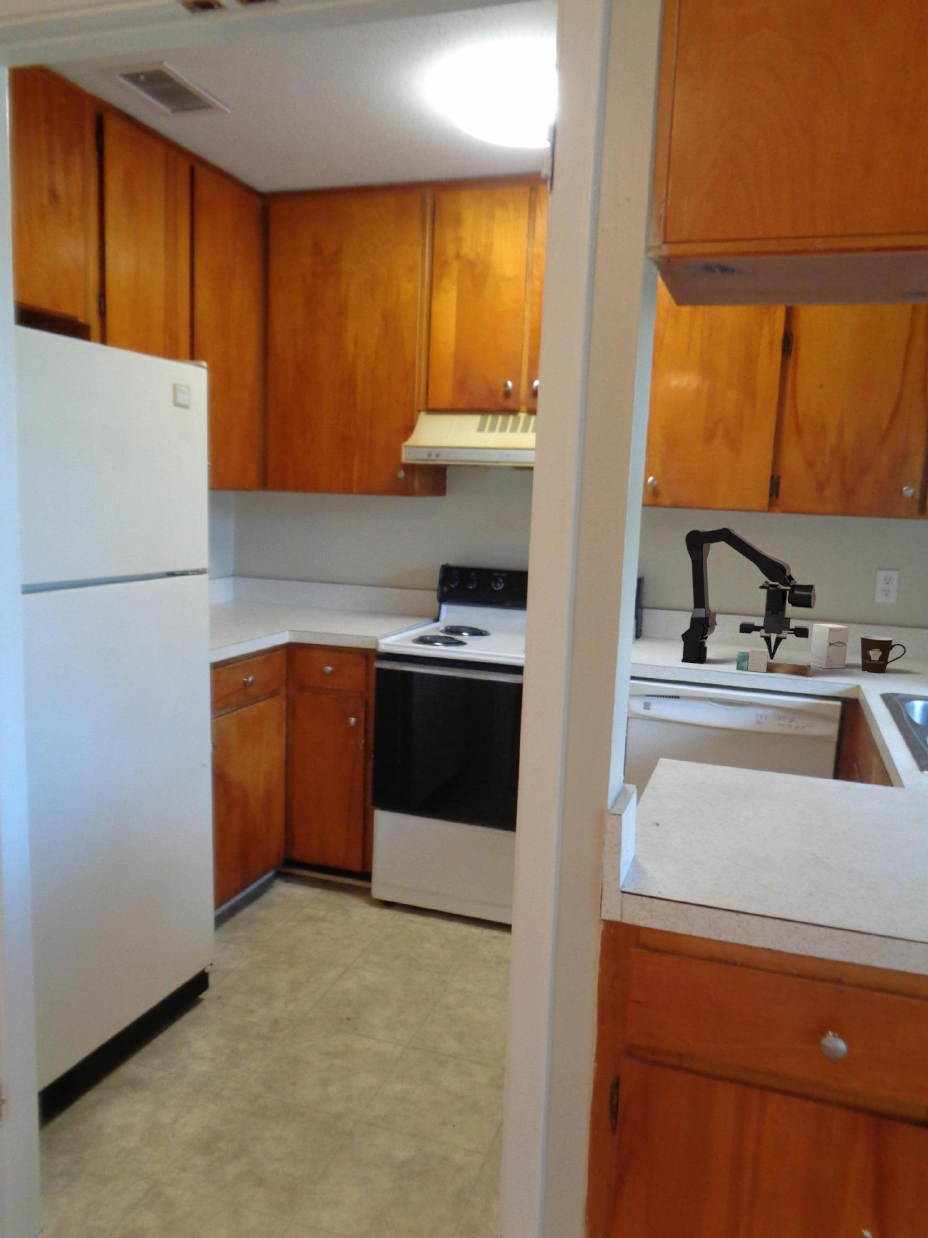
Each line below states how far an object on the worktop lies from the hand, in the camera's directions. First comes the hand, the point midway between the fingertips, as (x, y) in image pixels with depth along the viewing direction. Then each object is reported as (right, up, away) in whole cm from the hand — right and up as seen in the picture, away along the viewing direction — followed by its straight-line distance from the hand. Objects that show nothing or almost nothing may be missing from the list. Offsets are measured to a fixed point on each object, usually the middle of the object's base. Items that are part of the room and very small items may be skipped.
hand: (771, 659), depth 258 cm
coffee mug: (+34, -4, +6) cm, 34 cm away
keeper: (-4, -3, +2) cm, 5 cm away
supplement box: (+21, -3, +13) cm, 25 cm away
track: (0, -4, 0) cm, 4 cm away
